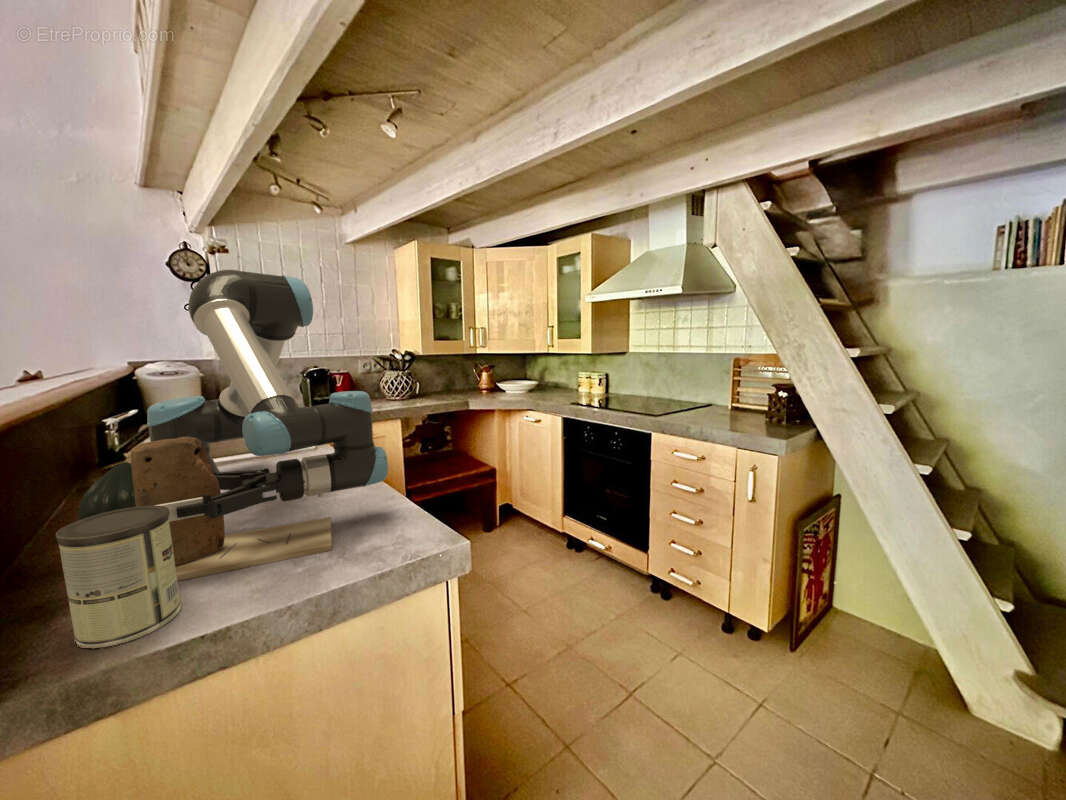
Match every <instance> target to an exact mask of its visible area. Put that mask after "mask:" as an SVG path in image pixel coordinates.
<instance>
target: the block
mask: <svg viewBox="0 0 1066 800" xmlns="http://www.w3.org/2000/svg"><path fill="white" fill-rule="evenodd" d="M130 463H131V466H132V477H133V486H134V494H135V503H136V507H138V506H152V505H160V504H165V503H171V502H177V501H183V500H188V499H194V498H200V497H203V496H202V495H204V494H205V495H210V497H212V496H215V495H218V494H221V493H222V492H221V490H220V487H219V482H218V480H217V478H216V477H215V476H214V475H213V472H212V469H211V466H210V464H209V460H208V457H207V454H206V451H205V450H204V447H203V445H202V442H201V441H200V440H198V439H197V438H192V437H187V436H186V437H179V438H176V439H164V440H158V441H153V442H150V441H149V442H143V443H140V444H138V445H136V446H135V447H134V446H133V448H131V450H130ZM224 516H225V515H222V516H219V517H216V518H210V517H209V516H205V513H204V515H202V516H196V517H191V518H186V519H181V520H176V521H171V522H169V525H170V532H171V539H172V546H173V554H174V561H175V566H177V565H181V564H184V563H187V562H191V561H193V560H195V559H197V558H199V557H203V556H206V555H208V554H211V553H213V552H215V551H216V550H217V549H219V548H221V547H222V546H223V544H224V539H225V535H226V533H225V531H226V529H225V517H224Z"/></svg>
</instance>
